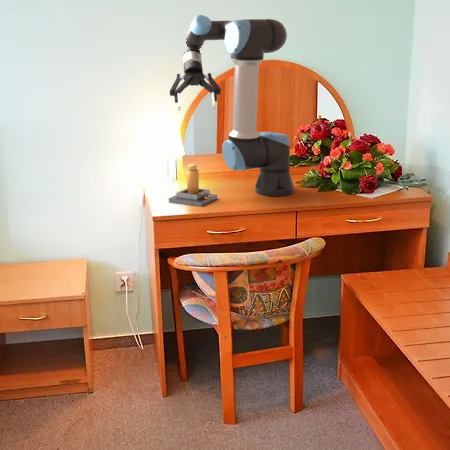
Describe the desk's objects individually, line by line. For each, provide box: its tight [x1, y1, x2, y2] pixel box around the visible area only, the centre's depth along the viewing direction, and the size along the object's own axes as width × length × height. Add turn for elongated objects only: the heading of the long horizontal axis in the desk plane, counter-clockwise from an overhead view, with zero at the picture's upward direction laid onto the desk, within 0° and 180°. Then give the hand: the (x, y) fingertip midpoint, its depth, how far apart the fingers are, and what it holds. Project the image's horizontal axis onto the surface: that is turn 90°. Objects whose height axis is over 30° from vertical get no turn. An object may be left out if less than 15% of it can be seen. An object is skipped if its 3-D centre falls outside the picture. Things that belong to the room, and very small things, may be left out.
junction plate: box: [168, 188, 218, 207], centre depth 248 cm, size 14×12×4 cm
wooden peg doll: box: [186, 163, 200, 194], centre depth 246 cm, size 4×4×12 cm
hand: (196, 108), depth 259 cm, fingers open, 13 cm apart
